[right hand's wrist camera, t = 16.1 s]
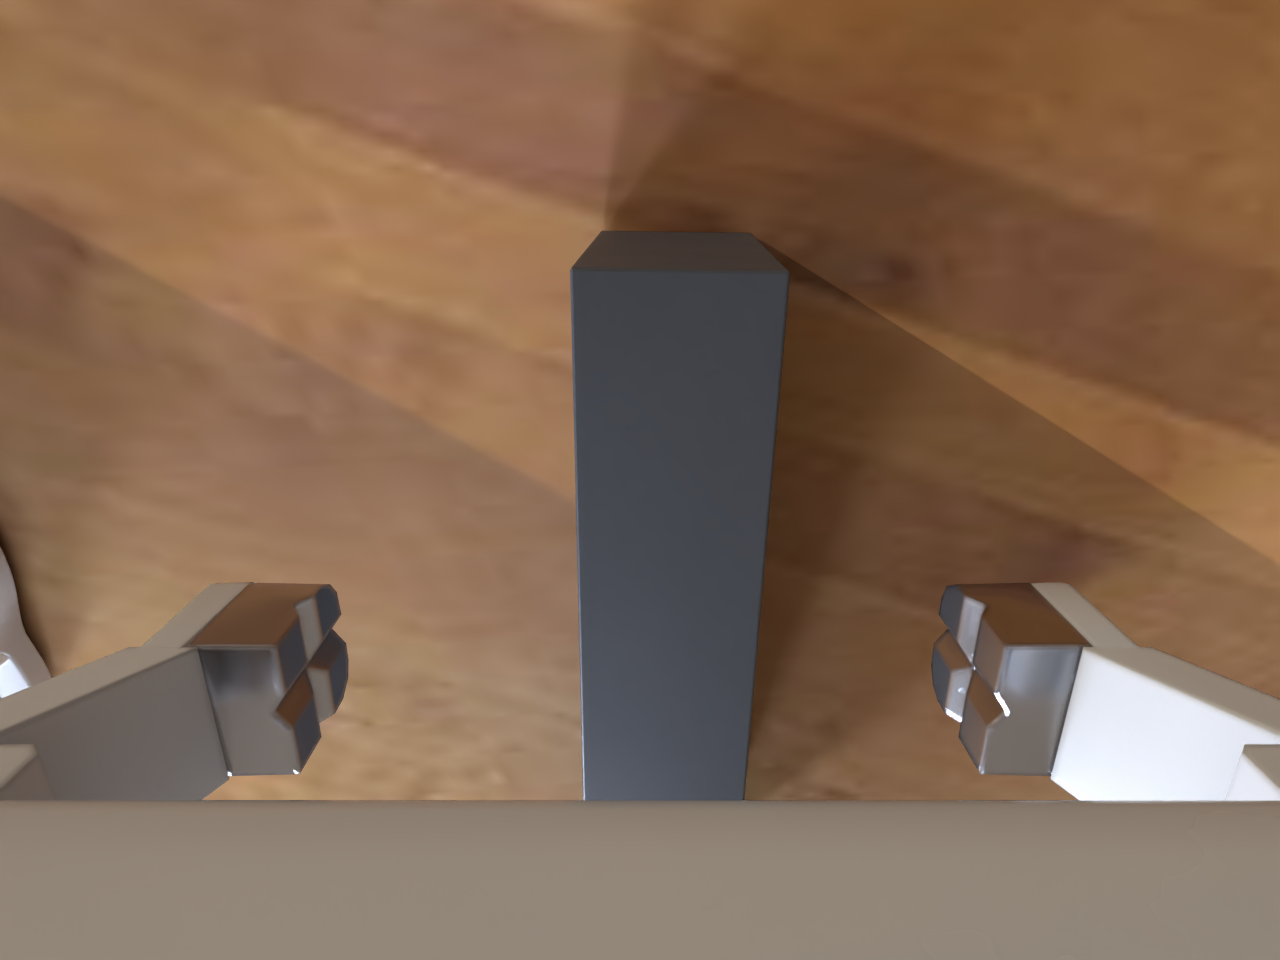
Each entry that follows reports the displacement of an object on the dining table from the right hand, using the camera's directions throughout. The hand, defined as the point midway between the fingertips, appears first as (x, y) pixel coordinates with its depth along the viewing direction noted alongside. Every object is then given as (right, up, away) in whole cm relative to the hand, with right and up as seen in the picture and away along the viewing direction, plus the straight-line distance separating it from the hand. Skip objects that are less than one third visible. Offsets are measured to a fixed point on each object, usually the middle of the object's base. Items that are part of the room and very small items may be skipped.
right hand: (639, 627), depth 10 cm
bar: (+1, -2, +20) cm, 20 cm away
